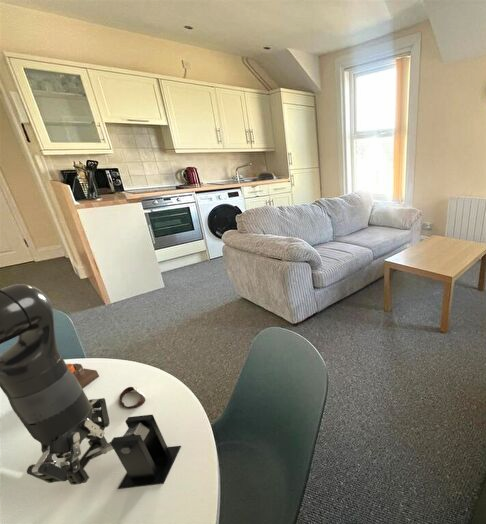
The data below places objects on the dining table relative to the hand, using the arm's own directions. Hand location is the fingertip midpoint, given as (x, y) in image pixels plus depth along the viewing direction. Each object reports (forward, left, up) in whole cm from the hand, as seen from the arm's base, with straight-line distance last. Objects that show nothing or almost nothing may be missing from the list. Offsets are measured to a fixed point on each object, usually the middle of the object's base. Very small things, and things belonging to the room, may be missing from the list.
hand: (92, 466), depth 54 cm
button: (-25, +26, +1) cm, 36 cm away
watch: (-4, +17, -3) cm, 18 cm away
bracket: (+10, 0, -3) cm, 11 cm away
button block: (-25, +26, -3) cm, 36 cm away
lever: (+6, 0, +4) cm, 7 cm away
